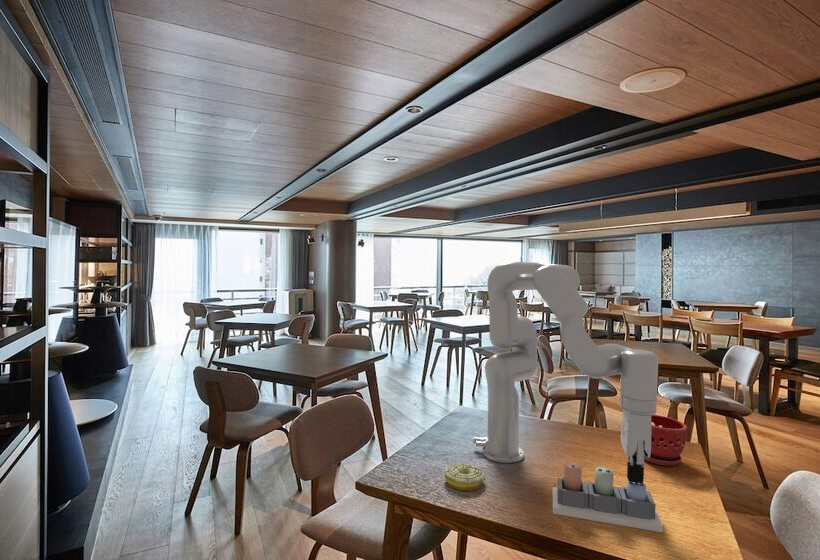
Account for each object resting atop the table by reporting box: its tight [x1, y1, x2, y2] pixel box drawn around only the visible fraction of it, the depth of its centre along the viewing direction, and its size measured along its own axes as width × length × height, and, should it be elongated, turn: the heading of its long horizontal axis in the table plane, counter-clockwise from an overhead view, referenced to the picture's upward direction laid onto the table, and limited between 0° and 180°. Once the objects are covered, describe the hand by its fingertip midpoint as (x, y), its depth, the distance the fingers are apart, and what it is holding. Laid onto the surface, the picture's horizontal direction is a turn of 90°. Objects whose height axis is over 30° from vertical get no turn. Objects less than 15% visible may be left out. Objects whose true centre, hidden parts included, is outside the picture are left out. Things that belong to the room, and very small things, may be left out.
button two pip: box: [594, 466, 614, 496], centre depth 103 cm, size 4×4×5 cm
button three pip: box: [626, 480, 647, 502], centre depth 101 cm, size 4×4×5 cm
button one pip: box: [563, 462, 583, 491], centre depth 105 cm, size 4×4×5 cm
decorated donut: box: [444, 463, 486, 492], centre depth 116 cm, size 10×11×4 cm
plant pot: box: [644, 414, 688, 466], centre depth 131 cm, size 13×13×12 cm
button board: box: [552, 477, 664, 533], centre depth 103 cm, size 23×10×5 cm, turn 72°
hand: (635, 480), depth 101 cm, fingers closed
